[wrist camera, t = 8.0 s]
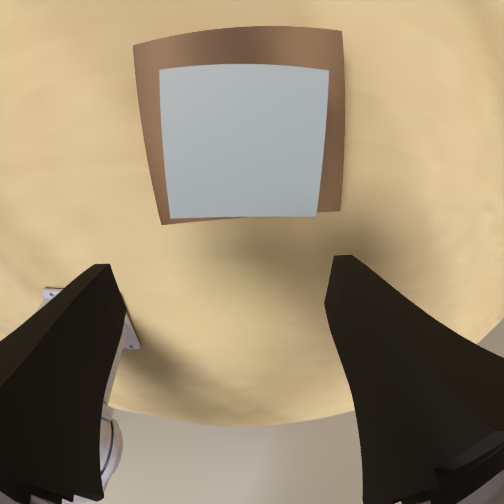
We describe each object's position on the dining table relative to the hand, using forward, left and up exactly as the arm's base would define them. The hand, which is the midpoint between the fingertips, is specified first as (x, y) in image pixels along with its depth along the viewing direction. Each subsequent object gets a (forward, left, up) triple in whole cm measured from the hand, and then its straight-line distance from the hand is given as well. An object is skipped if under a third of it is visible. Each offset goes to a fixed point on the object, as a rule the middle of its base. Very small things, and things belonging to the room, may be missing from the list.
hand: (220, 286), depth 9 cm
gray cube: (+1, +4, -7) cm, 8 cm away
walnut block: (+1, +4, -11) cm, 12 cm away
